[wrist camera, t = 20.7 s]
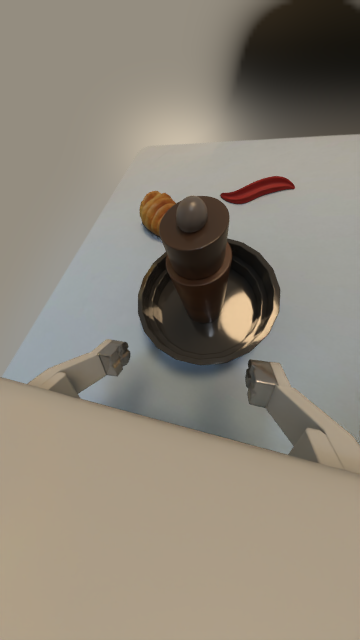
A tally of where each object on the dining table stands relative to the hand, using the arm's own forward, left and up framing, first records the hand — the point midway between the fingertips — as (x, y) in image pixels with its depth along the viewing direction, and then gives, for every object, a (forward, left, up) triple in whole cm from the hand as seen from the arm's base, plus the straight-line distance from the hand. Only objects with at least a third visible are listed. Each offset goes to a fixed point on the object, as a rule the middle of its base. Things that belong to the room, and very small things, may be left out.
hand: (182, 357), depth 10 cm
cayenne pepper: (-27, -14, -10) cm, 32 cm away
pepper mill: (-6, -5, -10) cm, 12 cm away
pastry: (-13, -23, -10) cm, 28 cm away
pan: (-6, -5, -10) cm, 13 cm away
